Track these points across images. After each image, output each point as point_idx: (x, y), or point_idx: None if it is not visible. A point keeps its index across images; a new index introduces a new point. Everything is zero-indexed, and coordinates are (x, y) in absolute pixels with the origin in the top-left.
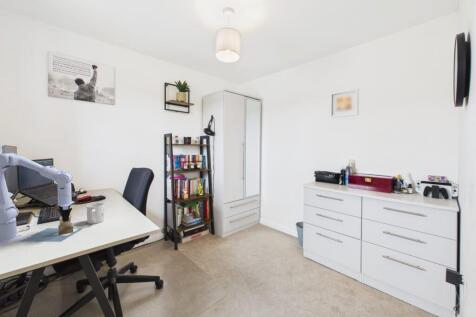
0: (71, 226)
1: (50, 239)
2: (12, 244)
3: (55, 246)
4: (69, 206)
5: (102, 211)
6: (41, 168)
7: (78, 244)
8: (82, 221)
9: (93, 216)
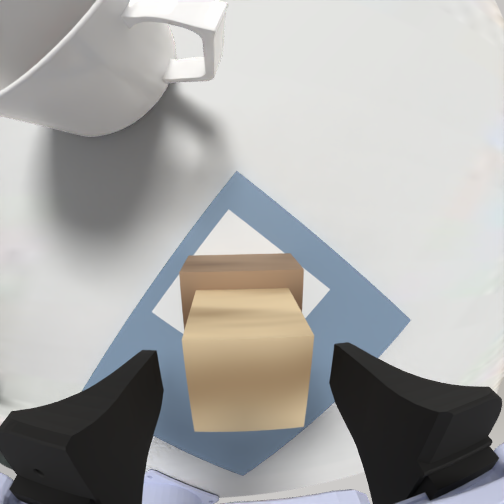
0: (300, 282)
1: (329, 376)
2: (253, 483)
3: (435, 336)
4: (96, 434)
5: None
6: None
7: (487, 233)
8: (29, 178)
9: (221, 48)
